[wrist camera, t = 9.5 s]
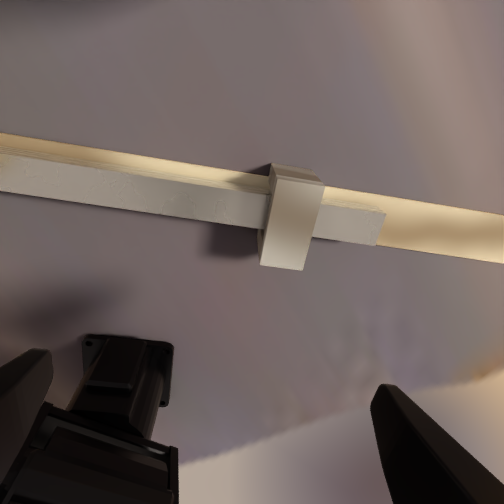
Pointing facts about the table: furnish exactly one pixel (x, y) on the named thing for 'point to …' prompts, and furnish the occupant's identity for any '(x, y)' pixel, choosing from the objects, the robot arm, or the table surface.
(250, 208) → the rod
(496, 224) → the track
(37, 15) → the table surface
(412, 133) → the table surface
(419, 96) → the table surface
